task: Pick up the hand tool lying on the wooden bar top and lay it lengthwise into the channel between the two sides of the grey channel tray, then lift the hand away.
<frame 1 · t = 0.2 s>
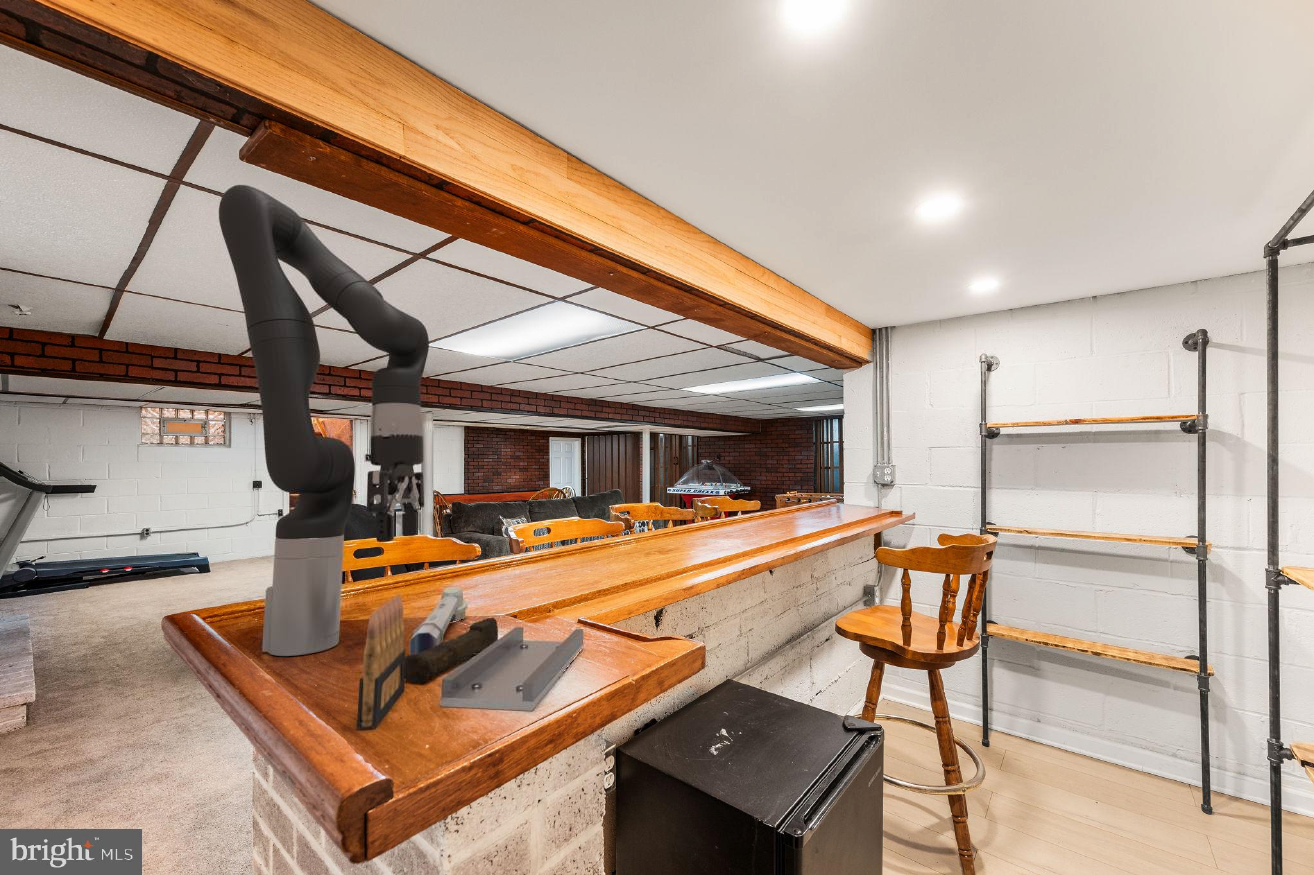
hand: (398, 538, 83), 17 cm above the counter, tool pointing down, fingers open, 8 cm apart
ammunition clip: (382, 710, 61), on the counter
grey channel tray: (522, 673, 73), on the counter
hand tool: (456, 664, 78), on the counter
grey plastic handle: (440, 636, 92), on the counter
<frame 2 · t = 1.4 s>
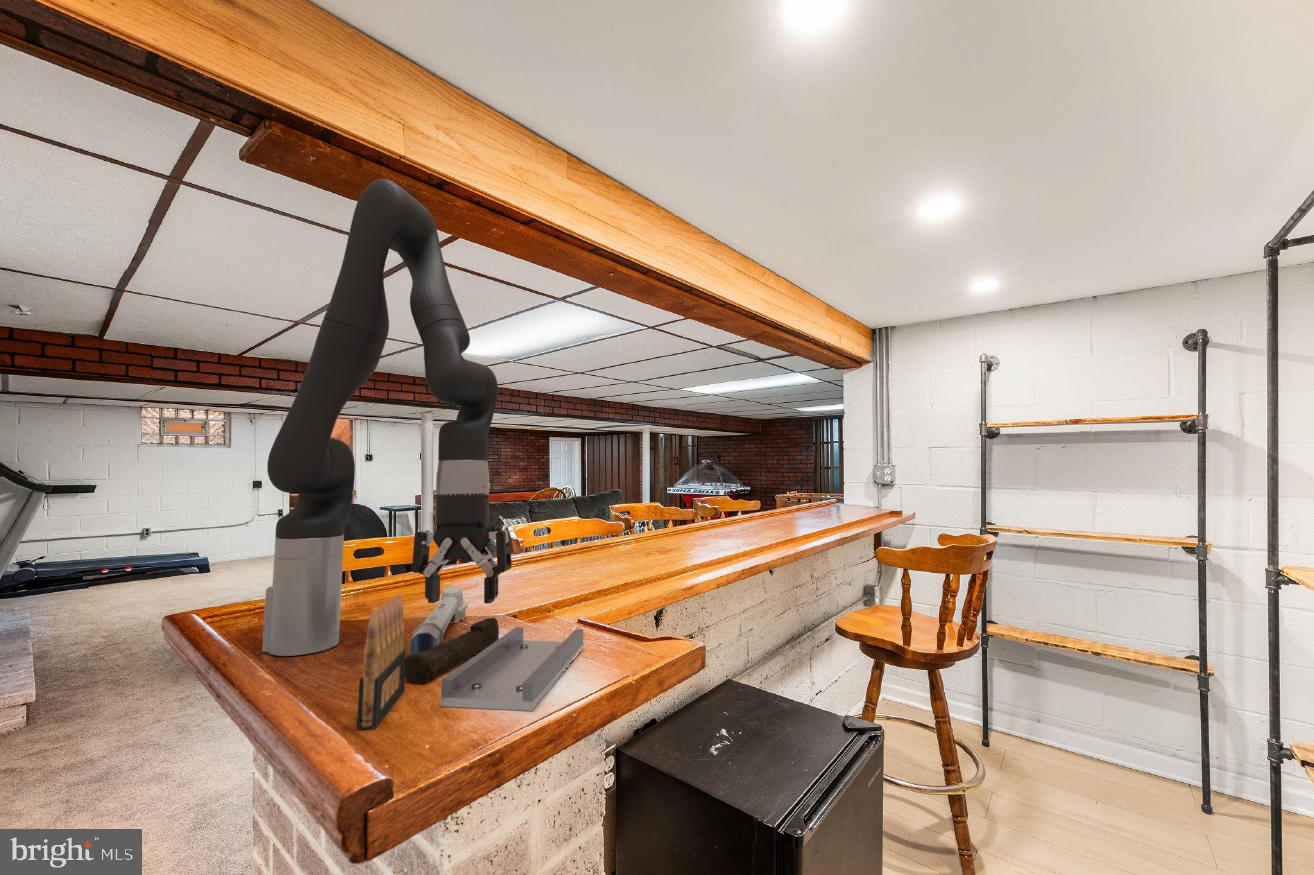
hand: (461, 602, 79), 8 cm above the counter, tool pointing down, fingers open, 8 cm apart
nothing on the counter moved.
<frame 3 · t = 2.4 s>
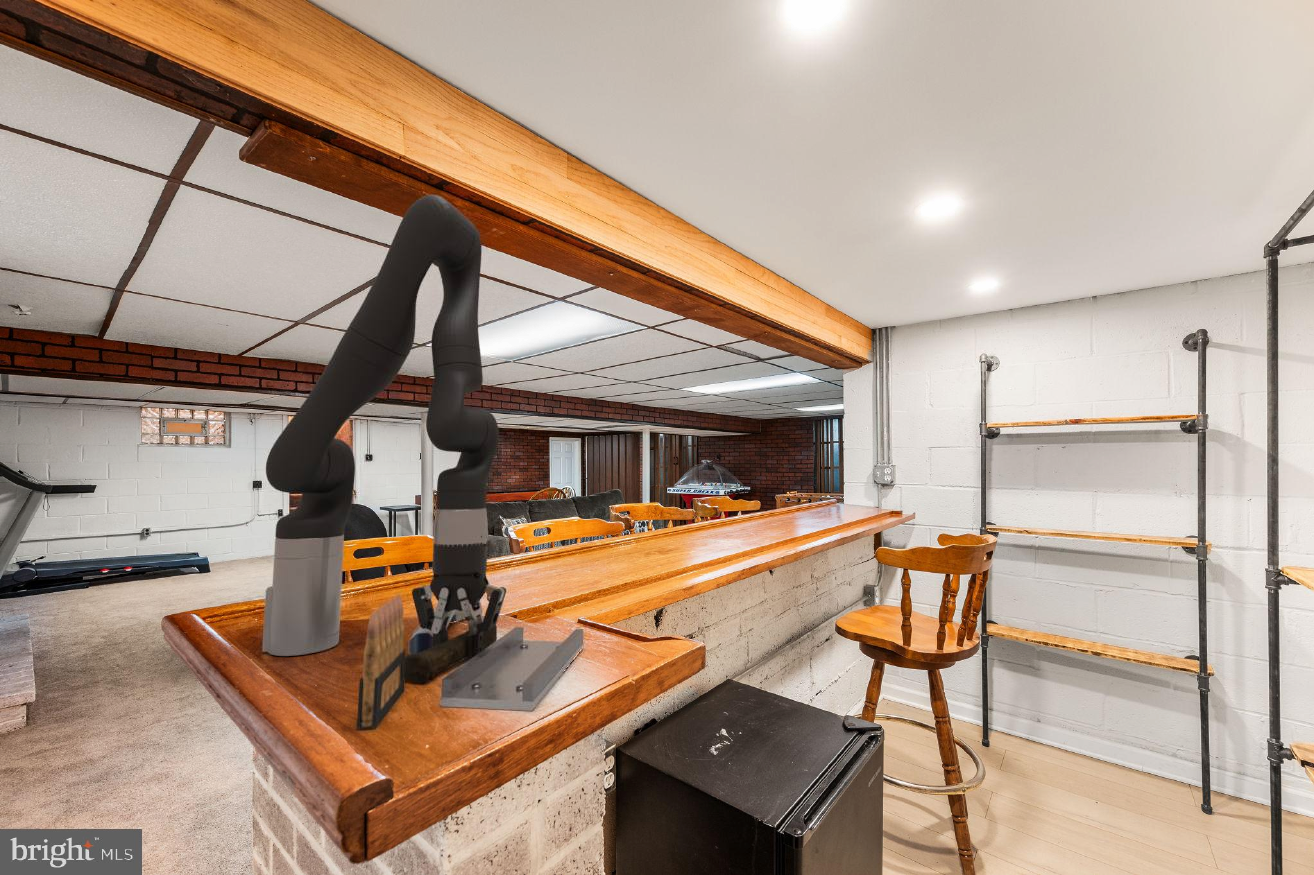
hand: (457, 658, 78), 0 cm above the counter, tool pointing down, fingers open, 4 cm apart
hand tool: (456, 663, 78), on the counter, touching gripper
everything else where it was.
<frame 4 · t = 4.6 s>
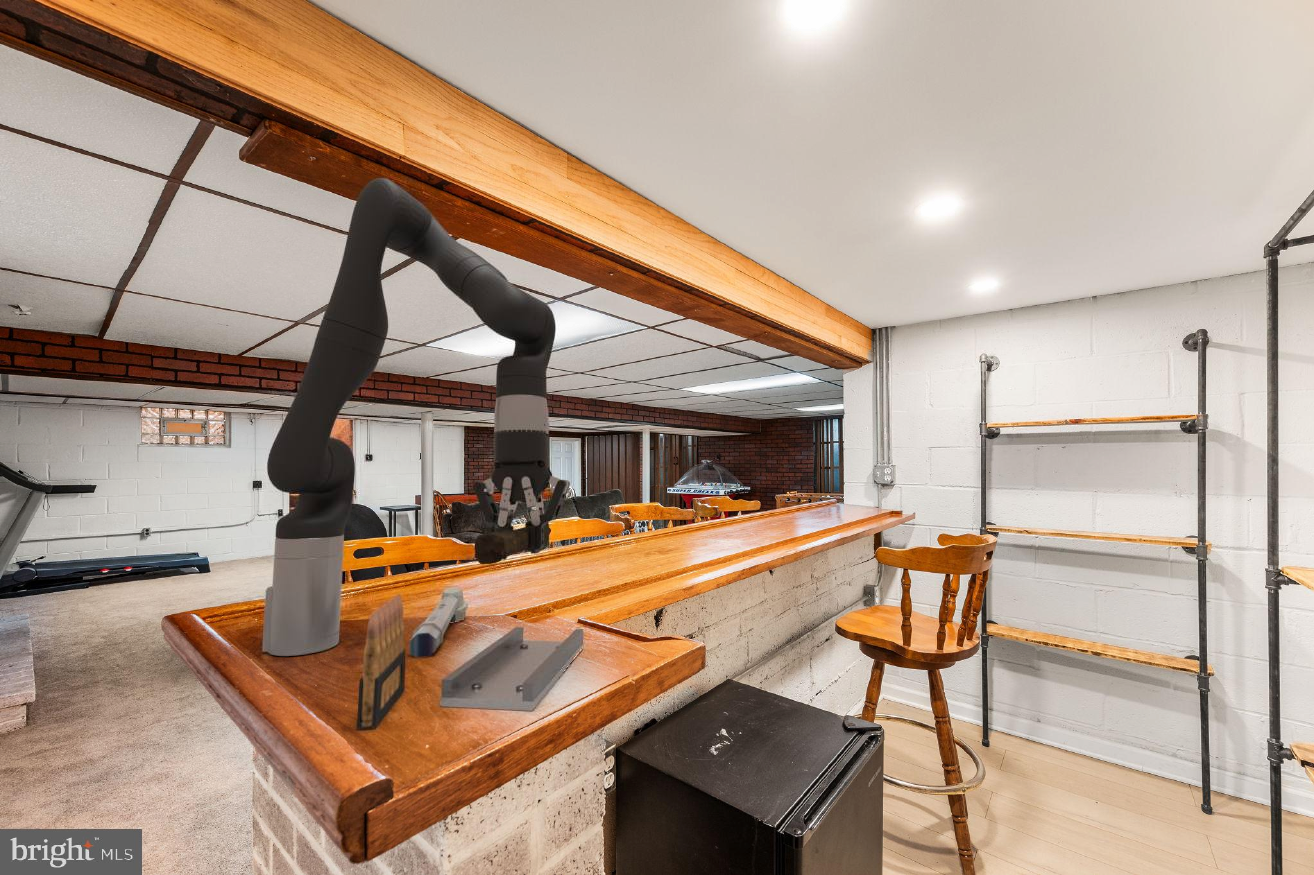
hand: (522, 552, 75), 16 cm above the counter, tool pointing down, fingers closed on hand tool, 3 cm apart
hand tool: (518, 556, 75), point 16 cm above the counter, touching gripper
everything else where it was.
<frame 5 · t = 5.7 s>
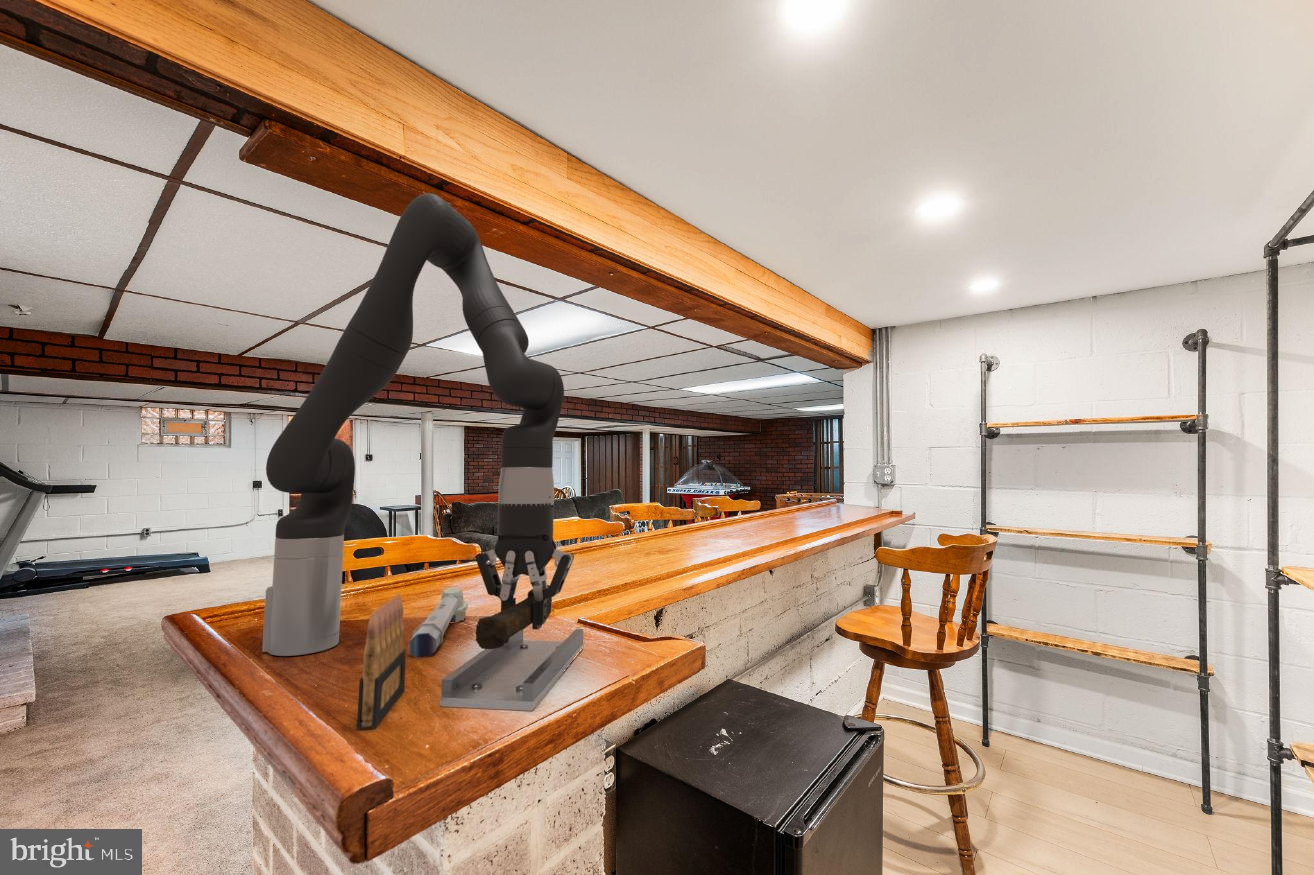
hand: (523, 627, 73), 6 cm above the counter, tool pointing down, fingers closed on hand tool, 3 cm apart
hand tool: (519, 630, 73), point 6 cm above the counter, touching gripper
everything else where it was.
when the fingers open (3 cm above the counter, at t = 6.4 s): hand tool drops 2 cm, resting on grey channel tray.
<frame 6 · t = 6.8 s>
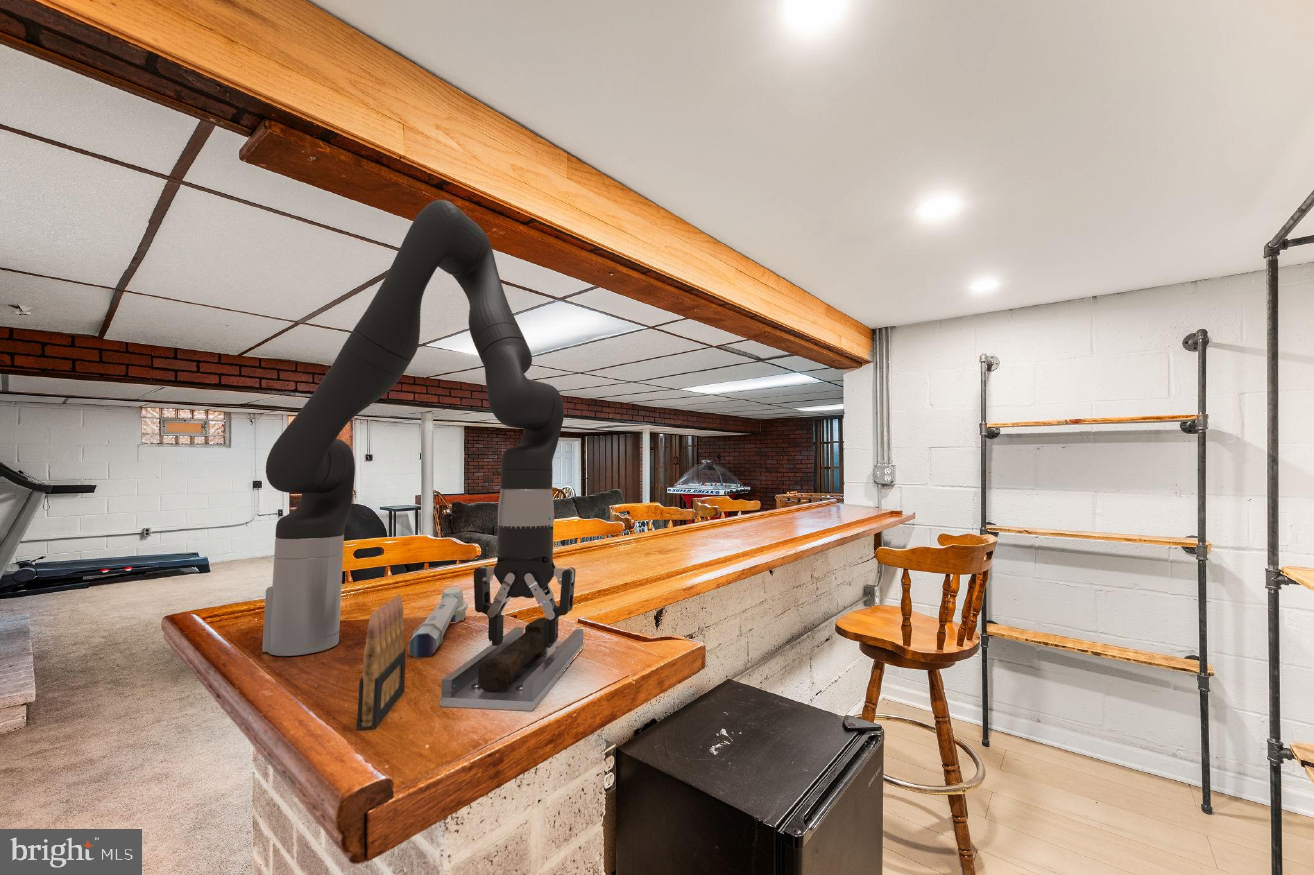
hand: (523, 645, 73), 4 cm above the counter, tool pointing down, fingers open, 6 cm apart
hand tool: (518, 667, 73), point 1 cm above the counter, touching grey channel tray
everything else where it was.
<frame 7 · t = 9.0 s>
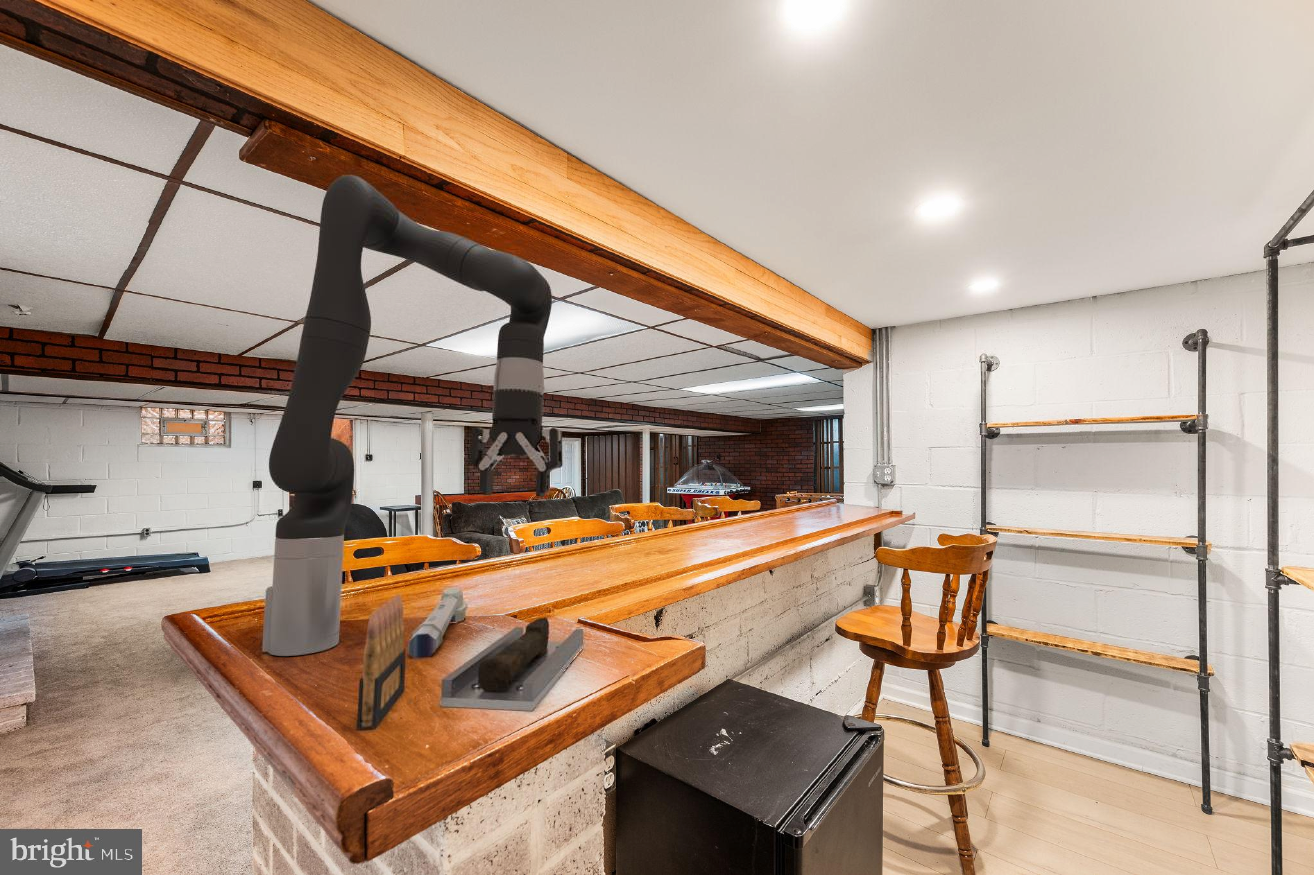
hand: (513, 495, 82), 24 cm above the counter, tool pointing down, fingers open, 8 cm apart
nothing on the counter moved.
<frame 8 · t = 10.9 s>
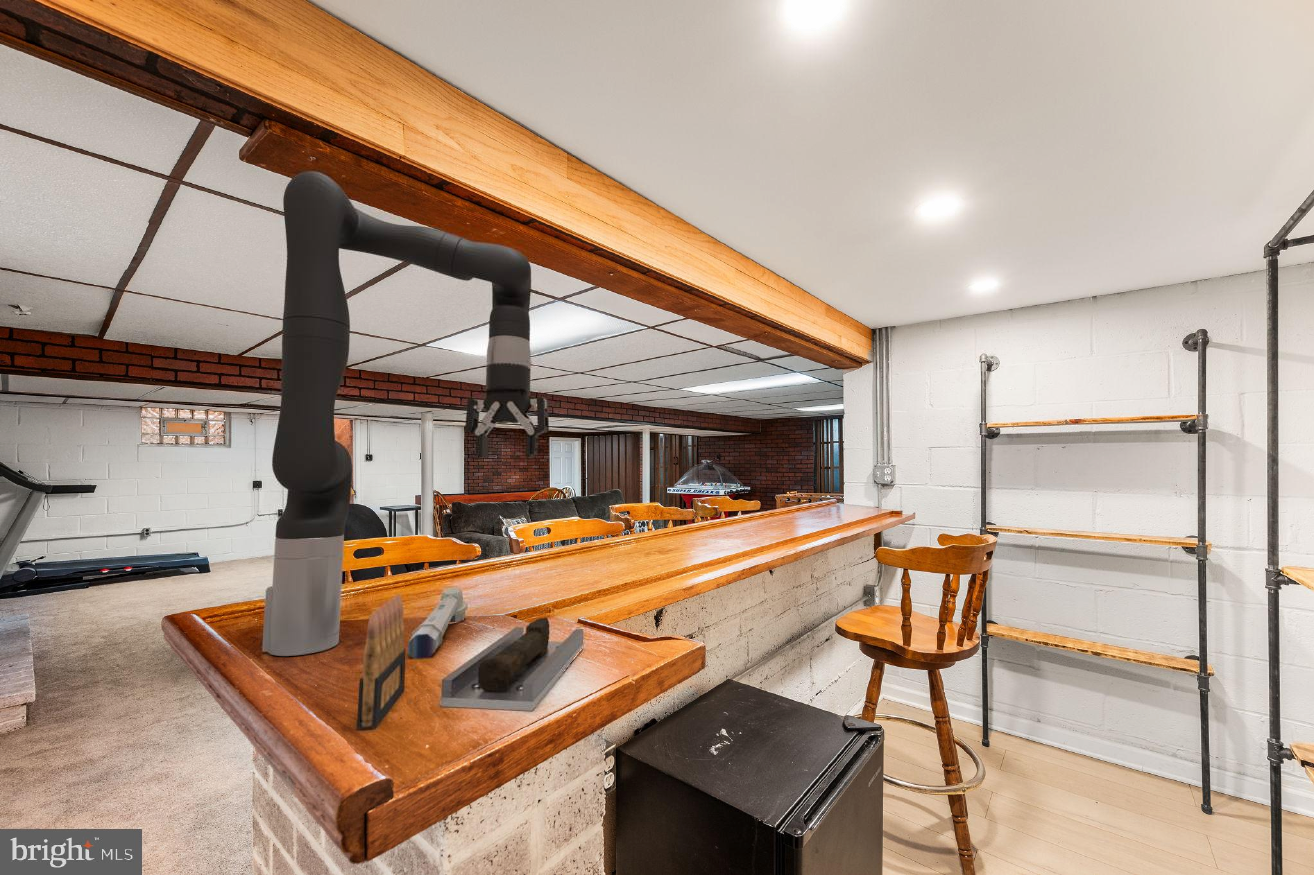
hand: (506, 457, 93), 30 cm above the counter, tool pointing down, fingers open, 8 cm apart
nothing on the counter moved.
at the end: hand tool inside the target area on the grey channel tray (0.4 cm from its centre), point 0.8 cm above the grey channel tray's base; the gripper is holding nothing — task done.
